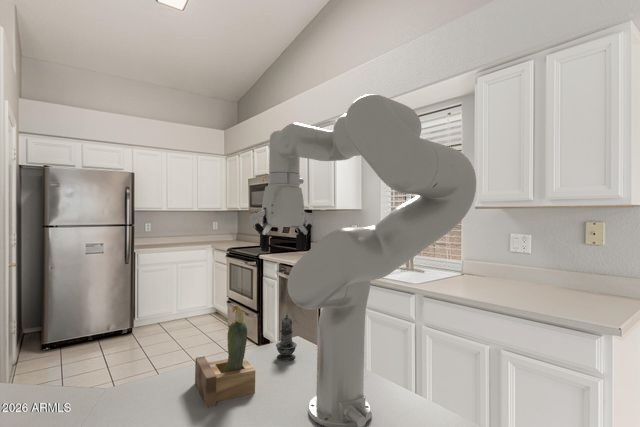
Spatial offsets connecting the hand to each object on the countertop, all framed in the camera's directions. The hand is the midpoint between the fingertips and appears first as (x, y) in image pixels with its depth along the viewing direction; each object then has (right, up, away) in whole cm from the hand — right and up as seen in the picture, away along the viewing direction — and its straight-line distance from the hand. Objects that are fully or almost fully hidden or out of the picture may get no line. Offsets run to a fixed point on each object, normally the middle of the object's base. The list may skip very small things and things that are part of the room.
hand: (283, 250), depth 88 cm
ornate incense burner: (0, -32, +12) cm, 34 cm away
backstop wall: (-16, -31, -9) cm, 36 cm away
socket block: (-12, -31, -7) cm, 34 cm away
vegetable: (-11, -31, -7) cm, 34 cm away
